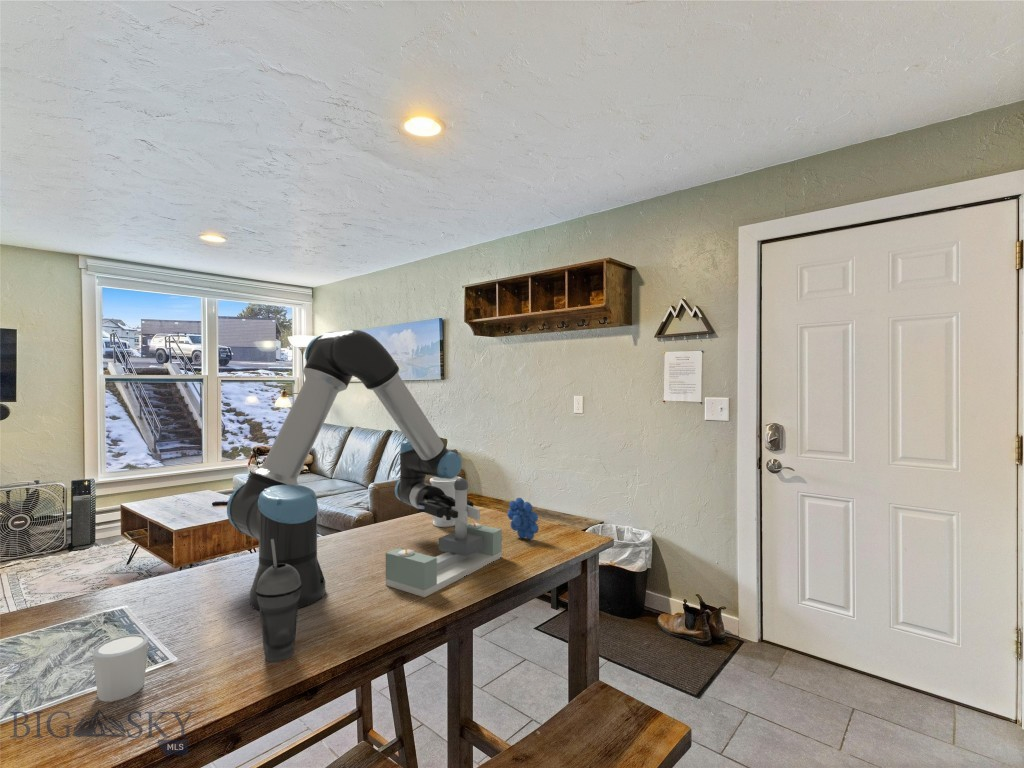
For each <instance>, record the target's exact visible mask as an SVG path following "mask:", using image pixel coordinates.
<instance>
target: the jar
mask: <svg viewBox="0 0 1024 768" xmlns="http://www.w3.org/2000/svg"><path fill="white" fill-rule="evenodd" d="M459 478H462V477H460V476H458V475H457V476H456V477H455V478H452V479H447V478H439V477H435V476H432V477H431V478H430V479H429V483H430V485H432V486H435V487H437V488H440V489H441V490H442V491H443V492H444V494H445V495H447V496H449V497H452V498H453V499H455V488H454V483H455V481H456V480H457V479H459ZM431 516H432V518H433V521H432V525H433V526H435V527H439V528H440V527H441V528H450V527H453V526H454V527H455V519H454V518H452V517H451V520H446V517H445V516H443V518H439V517H436V516H433V515H431Z"/></svg>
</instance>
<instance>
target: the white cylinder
mask: <svg viewBox="0 0 1024 768" xmlns="http://www.w3.org/2000/svg"><path fill="white" fill-rule="evenodd" d="M149 640H150V638H149V637H148V635H146V634H142V633H141V634H140V633H137V634H135V633H133V634H126V635H121V636H118V637H115V638H111V639H108V640H106V641H104V642H102V643H100V644H99V645H97V646H96V647H94V649H93V651H92V661H93V669H94V677H95V684H96V692H97V698H98V700H99V701H102V702H116V701H120V700H123V699H126V698H129V697H131V696H133V695H134V694H137V693H139V691H140V690H142V689H143V687H144V685H145V680H146V679H145V678H146V669H147V663H148V662H147V660H148V651H149V643H150V642H149Z"/></svg>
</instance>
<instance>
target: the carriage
mask: <svg viewBox="0 0 1024 768" xmlns="http://www.w3.org/2000/svg"><path fill="white" fill-rule="evenodd" d="M454 488H455V507H457V508H459V509H462V510H464V511H467V500H468V488H469V482H468V481H467V479H466V478H462V477H461V478H459V479H457V480H456V481H455V483H454ZM481 549H483V537H480V536H476V535H471V534H467V523H463V522H461V521H459V520H456V519H455V526H454V531H453V532H451V533H447V534H445V535H443V536H441V537H439V538H438V551H442V552H445V553H446V552H450V553H454V554H458V555H462V556H469V555H471V554H473V553H475V552H477V551H479V550H481Z"/></svg>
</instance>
